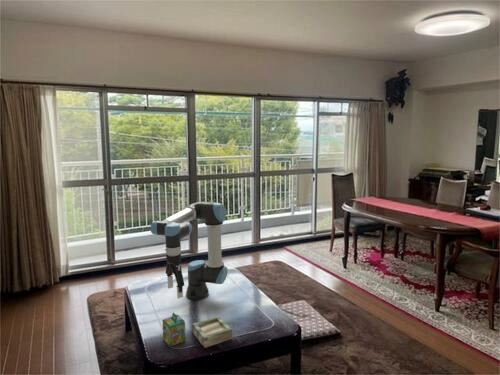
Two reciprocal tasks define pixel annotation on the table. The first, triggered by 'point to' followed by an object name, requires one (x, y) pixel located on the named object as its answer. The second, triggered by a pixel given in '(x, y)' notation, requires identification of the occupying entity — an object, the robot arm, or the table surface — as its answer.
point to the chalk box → (173, 330)
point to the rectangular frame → (212, 331)
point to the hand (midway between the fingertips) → (175, 292)
